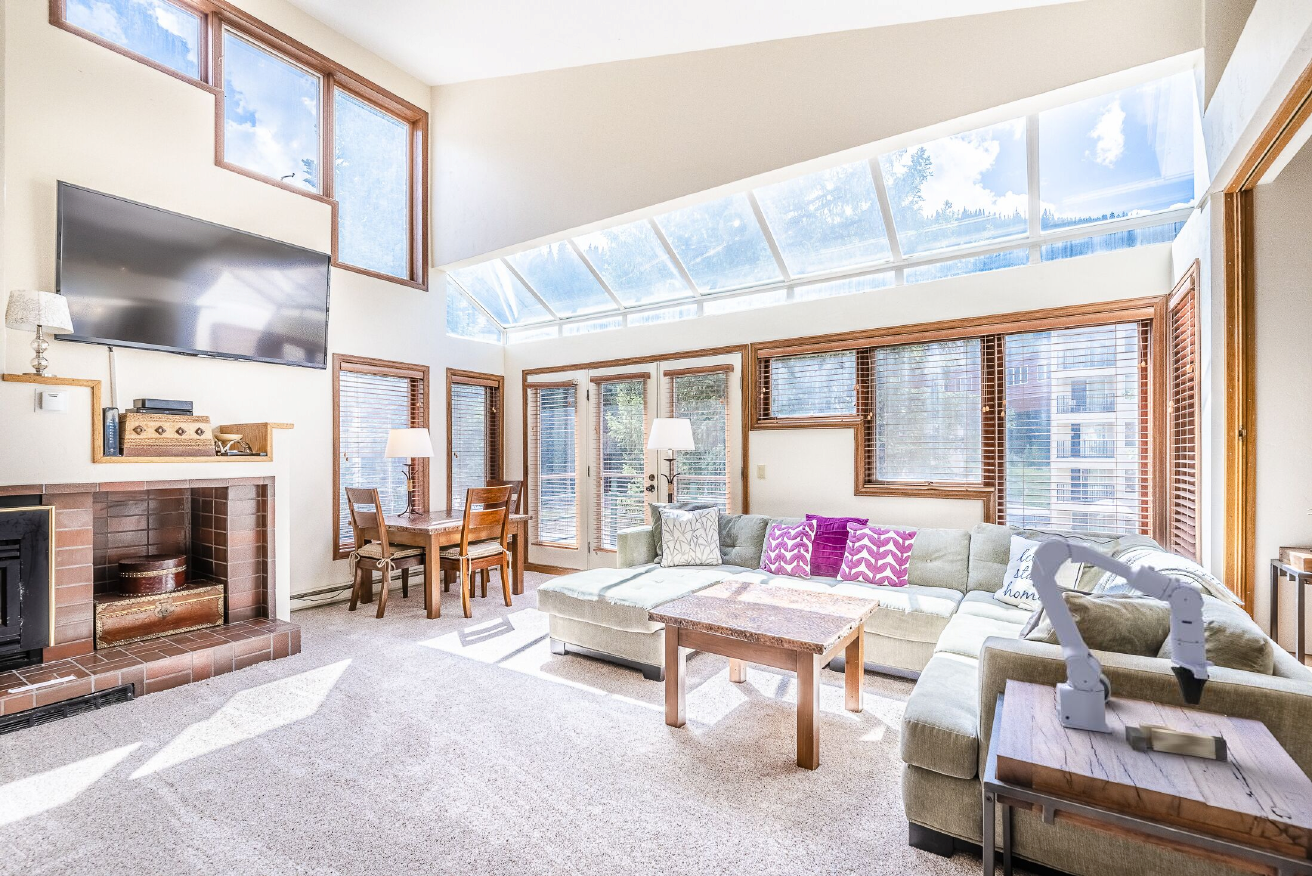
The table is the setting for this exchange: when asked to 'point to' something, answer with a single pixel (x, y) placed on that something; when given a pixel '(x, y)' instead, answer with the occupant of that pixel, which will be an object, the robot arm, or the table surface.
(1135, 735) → the tong pivot
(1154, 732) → the bar
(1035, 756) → the table surface
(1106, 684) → the ceramic mug
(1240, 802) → the table surface
